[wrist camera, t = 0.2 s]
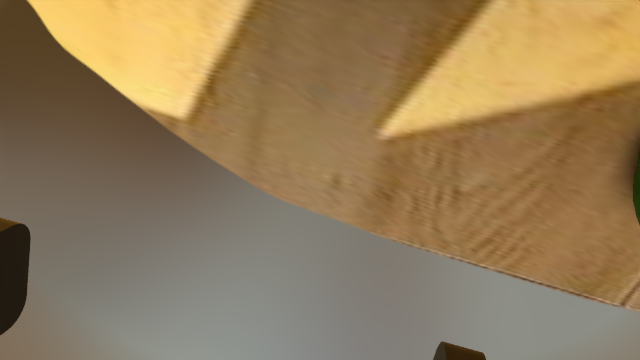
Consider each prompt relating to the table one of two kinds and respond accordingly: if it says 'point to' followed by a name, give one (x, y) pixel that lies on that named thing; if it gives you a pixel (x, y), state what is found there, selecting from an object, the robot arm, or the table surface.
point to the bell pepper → (637, 190)
